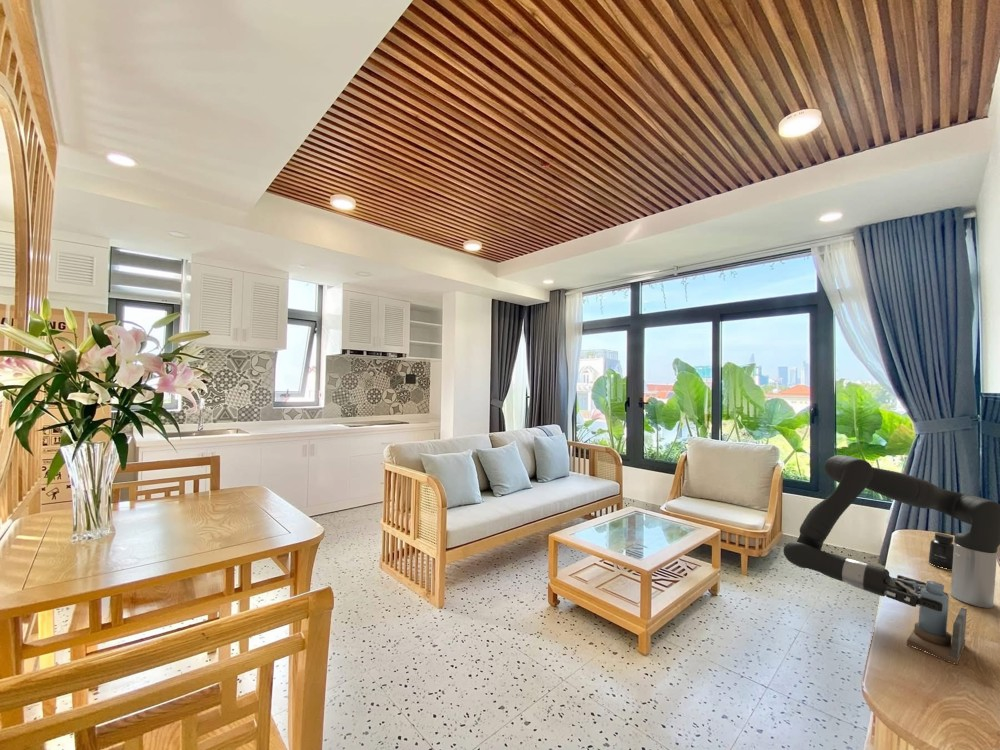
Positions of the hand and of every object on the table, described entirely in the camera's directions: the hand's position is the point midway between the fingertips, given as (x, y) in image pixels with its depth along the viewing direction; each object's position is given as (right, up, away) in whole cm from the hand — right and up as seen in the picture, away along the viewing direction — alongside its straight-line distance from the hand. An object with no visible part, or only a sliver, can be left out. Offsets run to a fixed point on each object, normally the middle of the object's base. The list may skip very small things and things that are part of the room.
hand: (945, 602), depth 111 cm
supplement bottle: (+51, -14, +51) cm, 73 cm away
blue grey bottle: (-2, -8, +2) cm, 9 cm away
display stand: (-1, -12, +1) cm, 12 cm away
